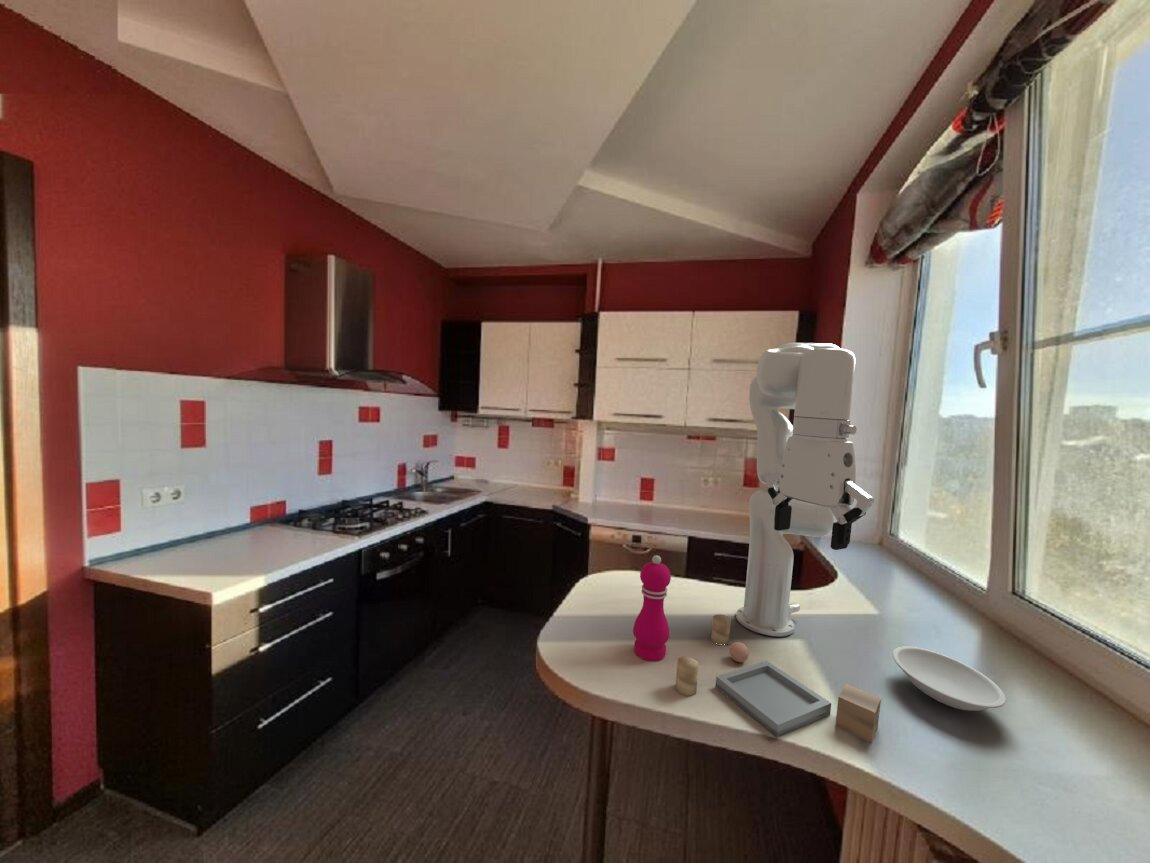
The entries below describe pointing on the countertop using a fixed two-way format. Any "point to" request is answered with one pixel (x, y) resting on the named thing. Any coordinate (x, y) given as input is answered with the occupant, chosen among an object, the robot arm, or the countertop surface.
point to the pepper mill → (652, 612)
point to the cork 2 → (720, 629)
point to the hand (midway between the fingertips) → (808, 538)
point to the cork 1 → (687, 676)
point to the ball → (739, 652)
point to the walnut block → (858, 712)
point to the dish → (948, 679)
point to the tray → (773, 697)
